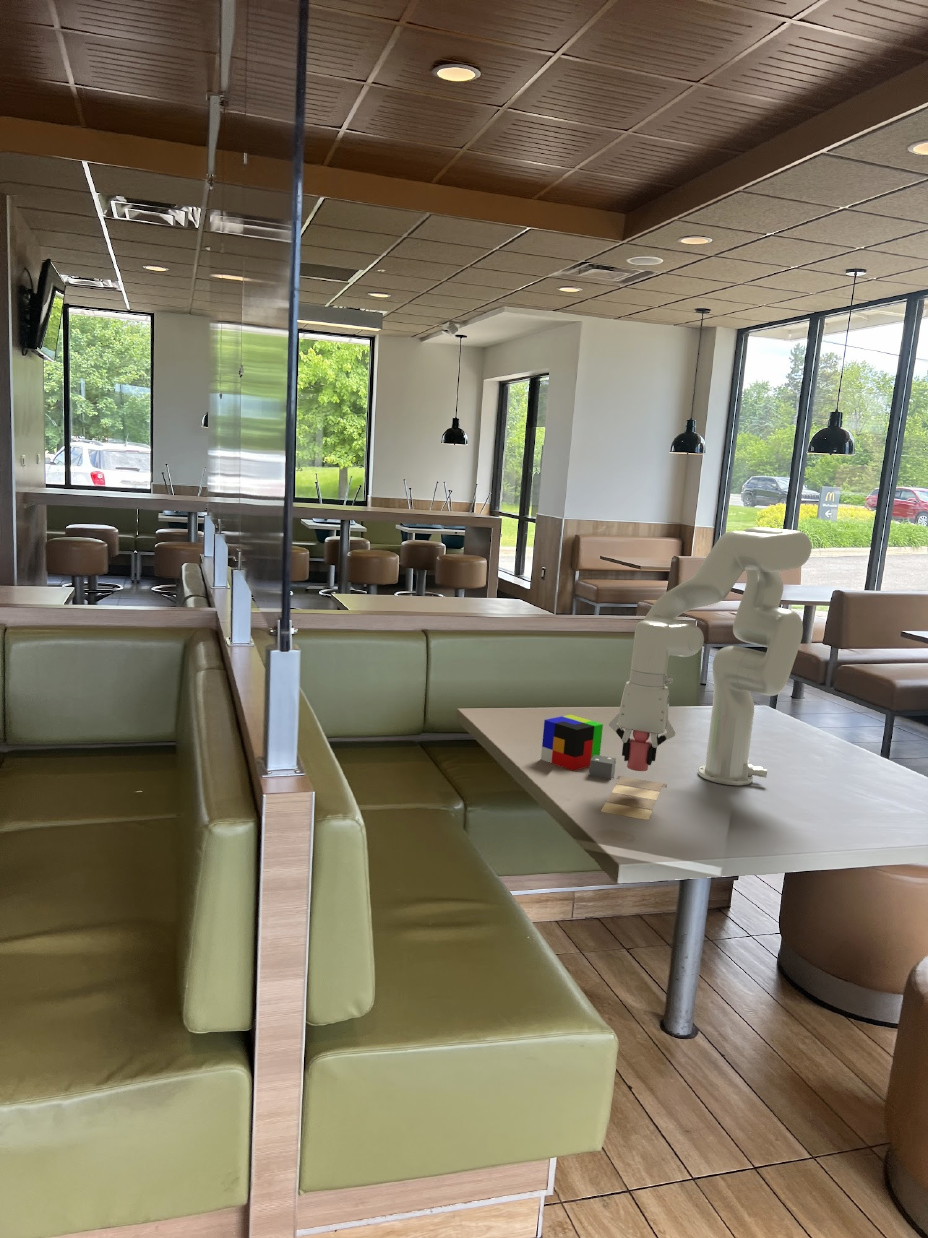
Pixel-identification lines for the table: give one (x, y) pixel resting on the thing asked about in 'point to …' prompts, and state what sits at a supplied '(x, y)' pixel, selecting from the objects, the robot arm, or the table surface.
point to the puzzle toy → (571, 741)
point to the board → (633, 798)
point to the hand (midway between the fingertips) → (638, 760)
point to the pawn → (639, 751)
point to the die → (602, 767)
